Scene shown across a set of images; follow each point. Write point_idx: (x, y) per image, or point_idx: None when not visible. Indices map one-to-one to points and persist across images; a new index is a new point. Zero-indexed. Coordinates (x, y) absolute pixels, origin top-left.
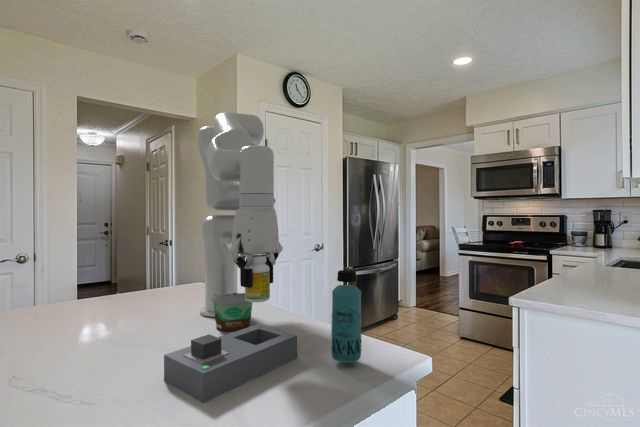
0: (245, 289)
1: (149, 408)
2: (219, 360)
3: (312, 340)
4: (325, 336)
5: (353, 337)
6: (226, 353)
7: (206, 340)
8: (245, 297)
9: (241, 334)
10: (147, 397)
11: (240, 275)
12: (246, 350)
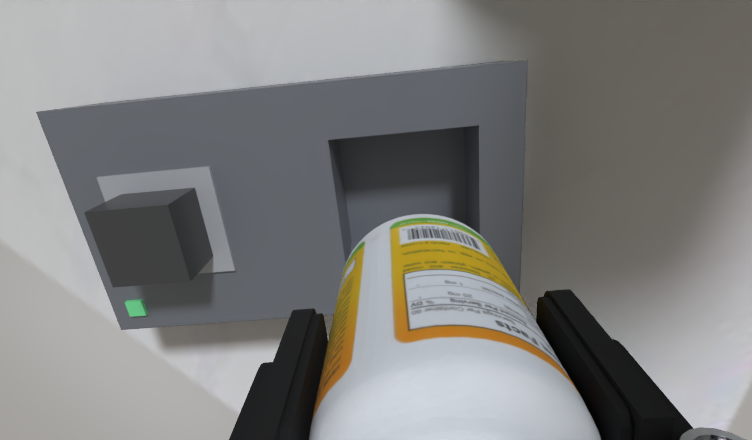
0: (337, 302)
1: (49, 224)
2: (190, 291)
3: (660, 190)
4: (727, 196)
5: None
6: (226, 269)
7: (136, 259)
8: (343, 271)
9: (375, 134)
10: (48, 168)
11: (241, 412)
12: (296, 285)
